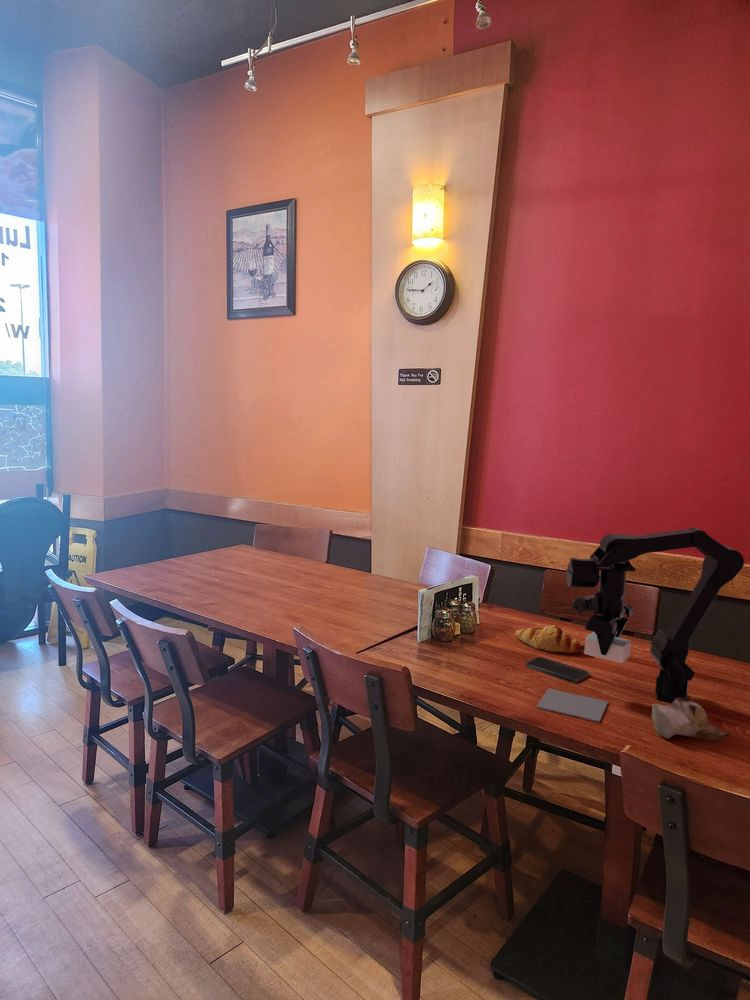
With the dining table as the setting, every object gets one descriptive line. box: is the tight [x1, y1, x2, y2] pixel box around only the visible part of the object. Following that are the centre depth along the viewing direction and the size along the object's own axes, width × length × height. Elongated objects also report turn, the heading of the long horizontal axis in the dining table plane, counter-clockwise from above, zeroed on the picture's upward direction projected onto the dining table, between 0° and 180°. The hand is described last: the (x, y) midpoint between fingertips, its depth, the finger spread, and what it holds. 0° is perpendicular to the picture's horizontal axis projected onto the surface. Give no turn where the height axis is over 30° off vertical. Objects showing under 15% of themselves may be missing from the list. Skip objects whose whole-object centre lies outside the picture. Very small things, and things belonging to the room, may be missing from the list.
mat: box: [536, 688, 609, 724], centre depth 153 cm, size 14×11×1 cm
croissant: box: [514, 624, 585, 654], centre depth 189 cm, size 21×10×8 cm, turn 54°
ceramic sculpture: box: [651, 697, 731, 741], centre depth 140 cm, size 11×9×15 cm
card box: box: [583, 631, 632, 664], centre depth 157 cm, size 9×6×4 cm, turn 52°
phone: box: [525, 656, 590, 684], centre depth 172 cm, size 8×1×15 cm
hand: (607, 651), depth 157 cm, fingers closed on card box, 6 cm apart
